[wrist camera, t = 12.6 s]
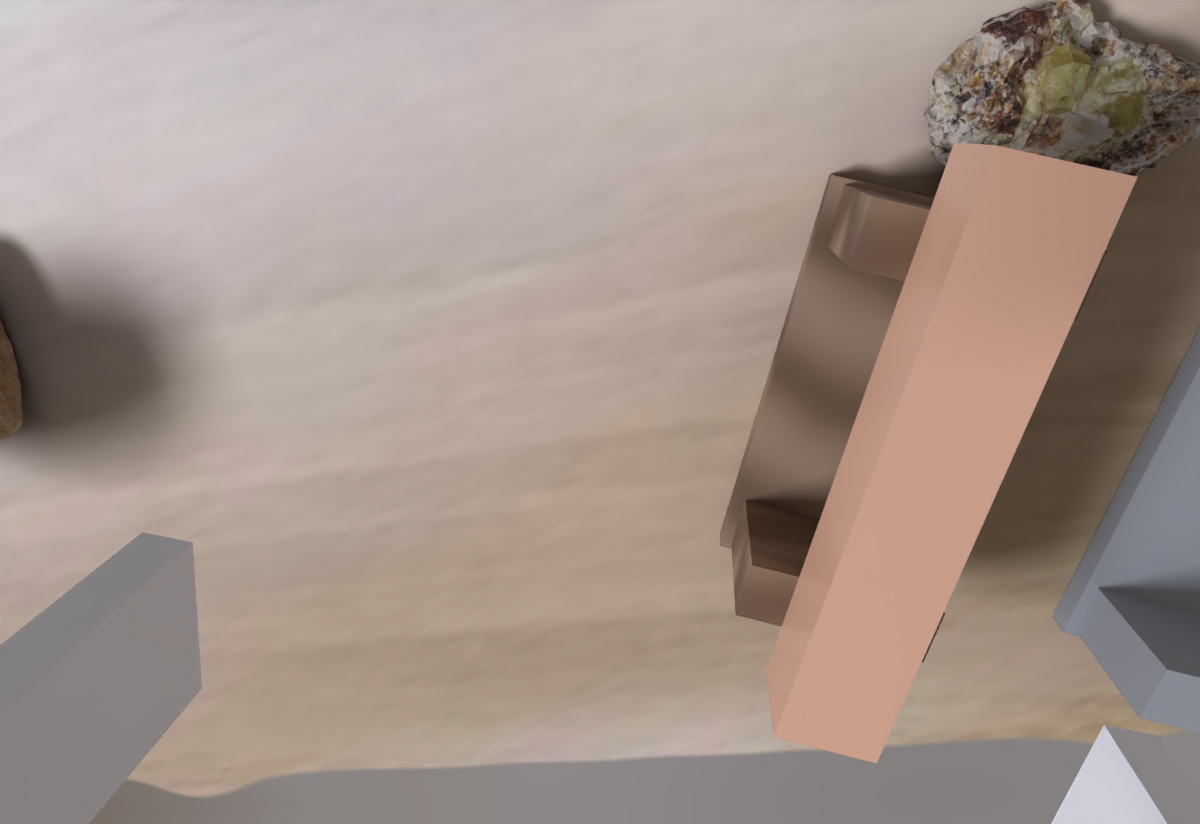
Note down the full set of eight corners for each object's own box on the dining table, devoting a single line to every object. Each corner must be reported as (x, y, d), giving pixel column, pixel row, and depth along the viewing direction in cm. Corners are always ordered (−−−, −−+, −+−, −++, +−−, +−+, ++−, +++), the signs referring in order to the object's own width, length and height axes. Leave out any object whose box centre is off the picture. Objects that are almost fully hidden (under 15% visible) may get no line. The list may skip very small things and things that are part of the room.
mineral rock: (911, 225, 32) (966, 5, 27) (889, 186, 35) (935, -14, 31) (1190, 237, 31) (1297, 12, 26) (1139, 197, 34) (1227, -8, 30)
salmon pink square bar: (954, 142, 26) (995, 145, 22) (1075, 169, 26) (1138, 177, 22) (766, 669, 34) (773, 736, 30) (857, 692, 34) (876, 763, 30)
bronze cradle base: (829, 174, 33) (861, 186, 27) (1040, 221, 33) (1125, 246, 26) (719, 534, 40) (722, 616, 33) (894, 577, 39) (932, 670, 33)
